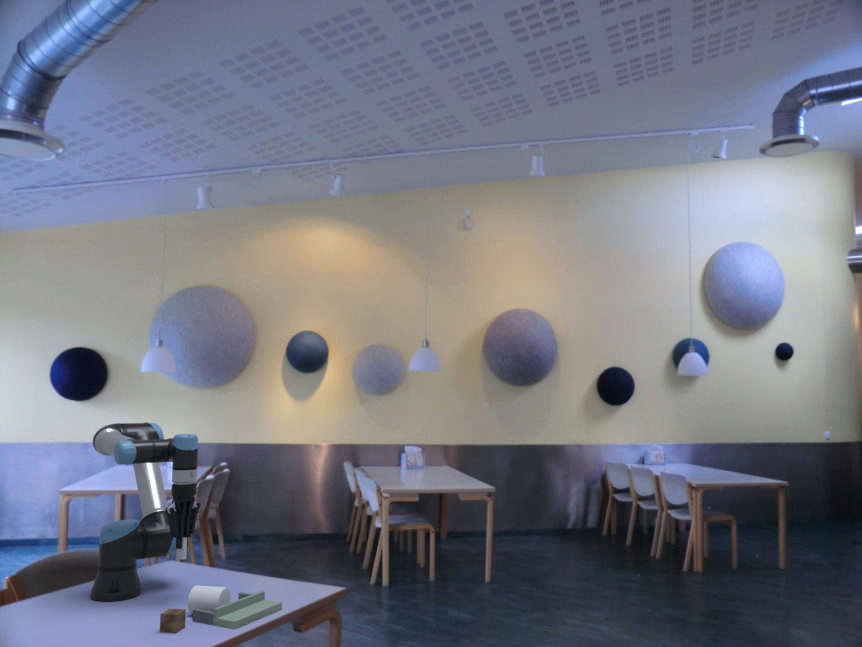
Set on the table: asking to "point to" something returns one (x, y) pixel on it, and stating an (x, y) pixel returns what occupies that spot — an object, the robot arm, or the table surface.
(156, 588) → the table surface
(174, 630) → the walnut block
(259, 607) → the green holder tray
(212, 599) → the mug
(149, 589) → the table surface
